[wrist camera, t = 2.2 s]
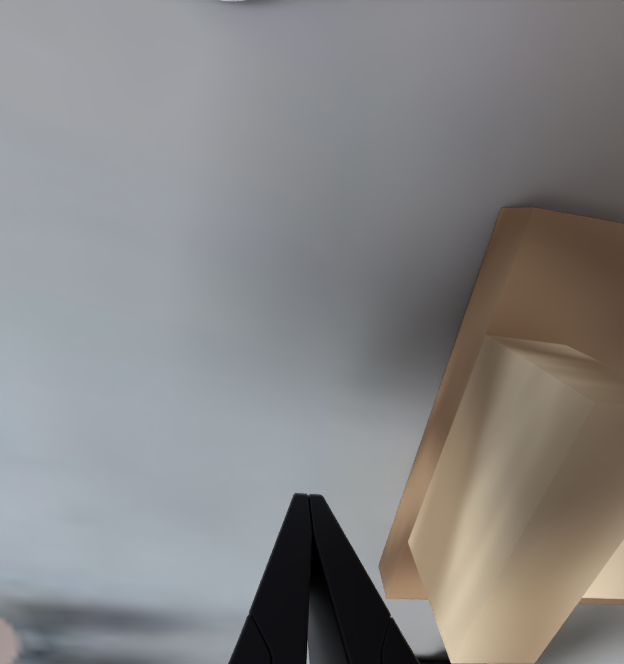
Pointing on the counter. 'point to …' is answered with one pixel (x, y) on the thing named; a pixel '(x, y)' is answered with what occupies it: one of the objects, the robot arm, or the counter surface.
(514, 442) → the t block
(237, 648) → the robot arm
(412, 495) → the push board
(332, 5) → the counter surface
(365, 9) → the counter surface
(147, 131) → the counter surface
